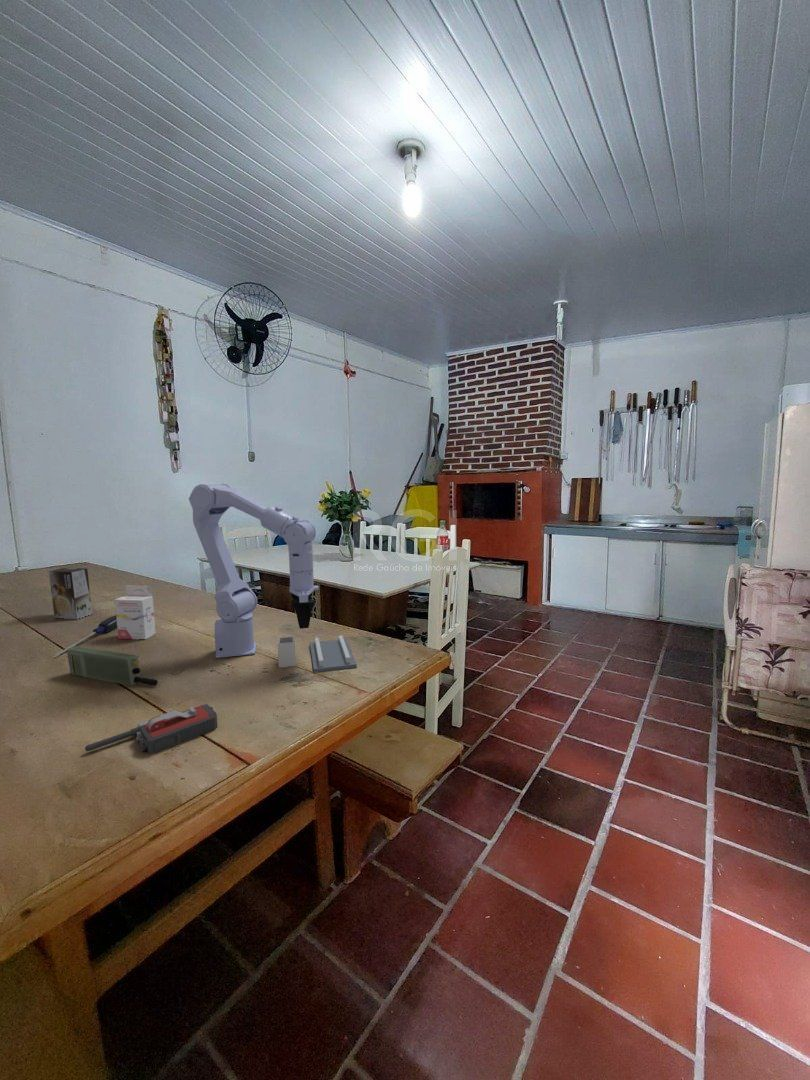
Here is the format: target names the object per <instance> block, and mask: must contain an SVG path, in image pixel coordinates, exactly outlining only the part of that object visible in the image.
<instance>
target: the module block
mask: <svg viewBox="0 0 810 1080" xmlns="http://www.w3.org/2000/svg"><path fill="white" fill-rule="evenodd" d="M295 640H296V639H295V636H287V637H278V638H277V660H278V662H277V663H278V668H279V667H283V668H291V667H290V666H292V667H296V666H297V665H296V664H297V662H296V641H295ZM288 666H289V667H288Z"/></svg>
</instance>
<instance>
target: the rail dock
mask: <svg viewBox="0 0 810 1080" xmlns="http://www.w3.org/2000/svg"><path fill="white" fill-rule="evenodd" d="M309 646H310V647H309V648H310V654H311V662H312V668H313V673H320V672H330V671H339V670H347V669H354V668H358V667H357V661H356V660H355V657H354V654H353V652H352V649H351V647H350V644H349V641H348V639H347V638H344V636H343V635H342V634H341V635H338V639H331V640H321V641H320V638H319V637H315V638H314V641H312V642H309Z"/></svg>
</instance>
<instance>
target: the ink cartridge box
mask: <svg viewBox="0 0 810 1080" xmlns="http://www.w3.org/2000/svg"><path fill="white" fill-rule="evenodd" d="M124 588H125V593H126V595H123V596H119V597H118V598H115V599H114V604H115V615H116V618H117V627H116V629H117V637H118V640H139V639H146V640H147V639H149V638H151V637H153V636H155V635H156V634H157V633H156V624H155V622H156V621H155V620H156V619H155V612H154V611H155V609H154V608H155V607H154V599H153V598H154V596H153V593H152V592H153V591H152V587H151V586H150V585H131V584H130V585H127V584H126V585H125V586H124ZM138 589H139V590H142V591H137V590H138ZM135 590H136V591H135ZM154 634H155V635H154Z"/></svg>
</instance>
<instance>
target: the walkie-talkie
mask: <svg viewBox="0 0 810 1080" xmlns="http://www.w3.org/2000/svg"><path fill="white" fill-rule="evenodd" d="M217 714H218V713H216V711H215V710H214V708H213V707H212V706H210V705H209V704H208V703H206V704H201V705H199V706H195V707H193V706H190V707H188V709H186V710H184V711H183V710H182V711H177V710H172V711H170V712H165V713H163V714H162V715H158V716H154V717H152V718H151V719H148V720H145V721H140V722H138V723H137V727H134V728H131V729H130V730H128V731H125V732H122V733H119V734H116V735H113V736H110V737H107V738H104V739H102V740H98V741H96V742H92V743H90V744H87V745H86V746H85V747H84V750H85V751H86V752H90V751H94V750H96V749H99V748H102V747H106V746H109V745H110V744H113V743H116V742H119V741H121V740H122V741H123V740H126V739H128V738H130V737H135V738H136V742H138V744H139V749H140V751H141V752H145V751H147V753H148V754H149V755H151V754H155V753H158V752H160V751H163V750H166V749H169V748H171V747H174V746H177V745H178V744H181V743H184V742H187V741H190V740H191V739H195V738H197V737H200V736H202V735H205V734H207V733H210V732H213V731H215V730H217V728H218V727H219V726H218V715H217Z"/></svg>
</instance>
